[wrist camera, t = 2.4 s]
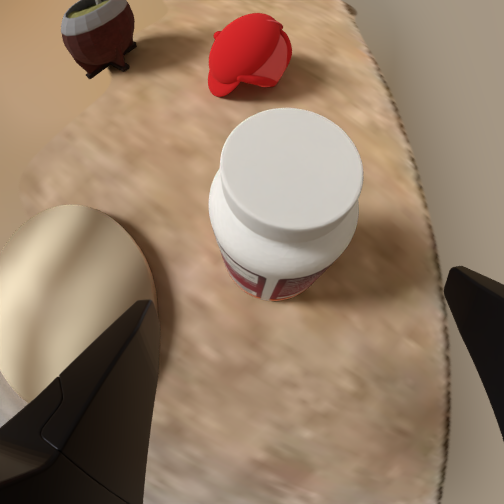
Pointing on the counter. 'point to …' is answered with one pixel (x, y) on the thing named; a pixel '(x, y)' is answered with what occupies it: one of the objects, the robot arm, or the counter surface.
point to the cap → (248, 54)
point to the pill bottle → (284, 200)
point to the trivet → (64, 291)
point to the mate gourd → (99, 34)
